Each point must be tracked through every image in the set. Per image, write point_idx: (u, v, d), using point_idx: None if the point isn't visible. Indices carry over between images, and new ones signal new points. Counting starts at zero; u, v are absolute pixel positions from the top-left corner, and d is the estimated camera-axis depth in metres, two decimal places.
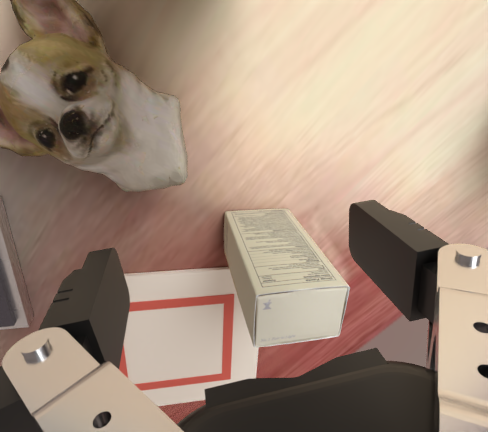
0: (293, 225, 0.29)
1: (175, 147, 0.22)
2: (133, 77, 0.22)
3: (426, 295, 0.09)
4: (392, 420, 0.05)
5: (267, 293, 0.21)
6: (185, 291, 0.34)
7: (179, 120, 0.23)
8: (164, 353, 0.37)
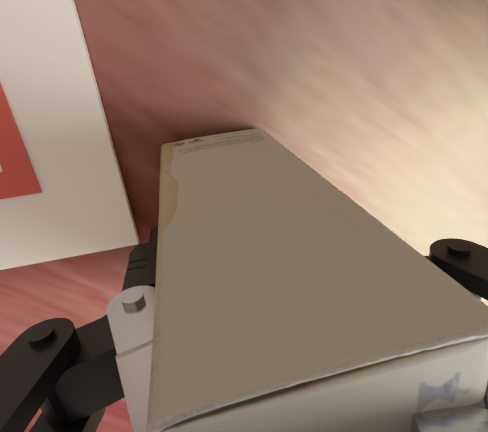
0: None
1: None
2: None
3: None
4: None
5: None
6: (15, 54, 0.12)
7: None
8: None
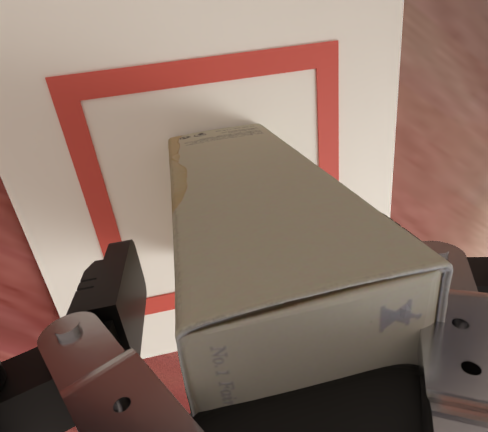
0: None
1: None
2: None
3: None
4: (392, 420, 0.05)
5: (443, 299, 0.06)
6: None
7: None
8: None
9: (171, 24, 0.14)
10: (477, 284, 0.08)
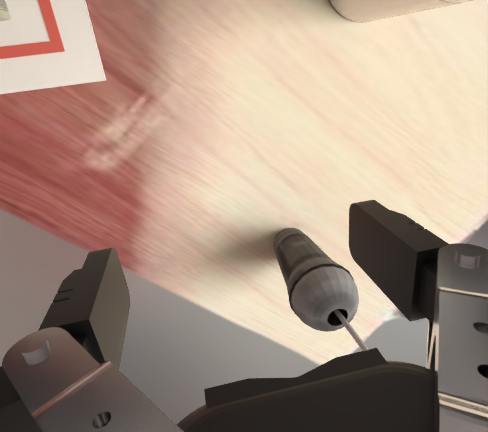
0: None
1: None
2: None
3: (426, 295, 0.09)
4: (392, 420, 0.05)
5: None
6: None
7: None
8: None
9: None
10: None
